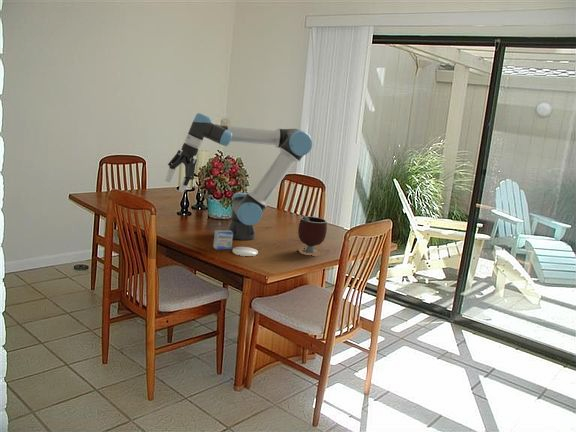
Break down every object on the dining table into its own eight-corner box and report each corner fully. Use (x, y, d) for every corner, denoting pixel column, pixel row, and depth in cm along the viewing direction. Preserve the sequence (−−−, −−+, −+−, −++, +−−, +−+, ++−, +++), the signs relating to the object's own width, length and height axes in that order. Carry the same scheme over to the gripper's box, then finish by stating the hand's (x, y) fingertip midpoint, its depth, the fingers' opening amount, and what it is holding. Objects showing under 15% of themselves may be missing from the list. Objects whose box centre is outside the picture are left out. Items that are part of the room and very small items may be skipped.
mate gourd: (309, 247, 288) (314, 209, 284) (328, 255, 278) (334, 216, 274) (287, 250, 278) (292, 211, 273) (307, 258, 268) (312, 218, 264)
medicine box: (216, 249, 263) (217, 232, 262) (212, 247, 267) (214, 229, 266) (231, 249, 267) (233, 232, 265) (228, 246, 271) (230, 229, 269)
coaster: (254, 249, 272) (255, 247, 271) (259, 257, 260) (260, 254, 260) (230, 248, 268) (230, 246, 268) (234, 256, 257) (234, 253, 257)
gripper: (172, 135, 269) (155, 175, 272) (199, 150, 252) (180, 193, 255) (184, 140, 274) (167, 179, 277) (211, 155, 257) (193, 197, 260)
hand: (174, 186), depth 266 cm, fingers open, 13 cm apart
